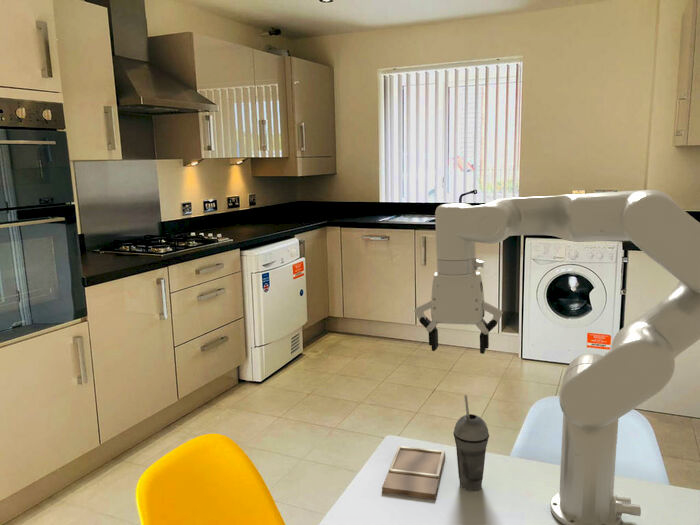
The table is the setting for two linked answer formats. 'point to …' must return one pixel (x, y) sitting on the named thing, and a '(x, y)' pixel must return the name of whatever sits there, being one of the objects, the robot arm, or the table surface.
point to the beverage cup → (470, 449)
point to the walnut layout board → (415, 472)
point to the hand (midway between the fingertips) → (458, 350)
